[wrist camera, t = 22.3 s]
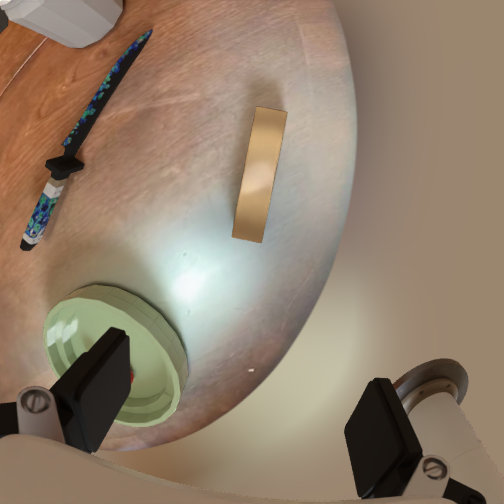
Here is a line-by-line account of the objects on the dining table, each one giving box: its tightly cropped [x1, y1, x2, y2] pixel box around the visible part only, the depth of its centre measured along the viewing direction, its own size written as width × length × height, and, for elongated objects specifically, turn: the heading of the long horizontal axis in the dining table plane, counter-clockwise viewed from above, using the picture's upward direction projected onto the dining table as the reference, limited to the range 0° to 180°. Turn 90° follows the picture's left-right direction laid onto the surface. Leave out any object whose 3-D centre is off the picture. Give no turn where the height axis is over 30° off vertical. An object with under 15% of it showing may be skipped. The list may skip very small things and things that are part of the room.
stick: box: [232, 106, 287, 243], centre depth 29 cm, size 13×3×3 cm, turn 169°
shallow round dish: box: [43, 285, 188, 427], centre depth 35 cm, size 21×21×5 cm
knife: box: [20, 29, 153, 251], centre depth 29 cm, size 31×3×4 cm, turn 143°
